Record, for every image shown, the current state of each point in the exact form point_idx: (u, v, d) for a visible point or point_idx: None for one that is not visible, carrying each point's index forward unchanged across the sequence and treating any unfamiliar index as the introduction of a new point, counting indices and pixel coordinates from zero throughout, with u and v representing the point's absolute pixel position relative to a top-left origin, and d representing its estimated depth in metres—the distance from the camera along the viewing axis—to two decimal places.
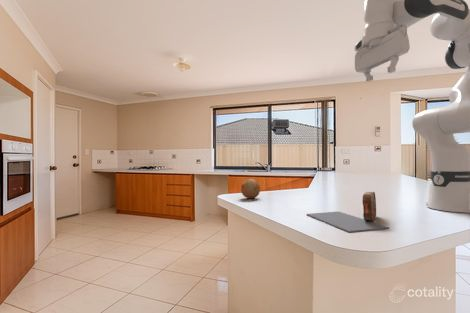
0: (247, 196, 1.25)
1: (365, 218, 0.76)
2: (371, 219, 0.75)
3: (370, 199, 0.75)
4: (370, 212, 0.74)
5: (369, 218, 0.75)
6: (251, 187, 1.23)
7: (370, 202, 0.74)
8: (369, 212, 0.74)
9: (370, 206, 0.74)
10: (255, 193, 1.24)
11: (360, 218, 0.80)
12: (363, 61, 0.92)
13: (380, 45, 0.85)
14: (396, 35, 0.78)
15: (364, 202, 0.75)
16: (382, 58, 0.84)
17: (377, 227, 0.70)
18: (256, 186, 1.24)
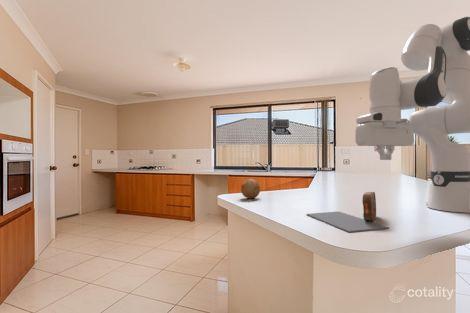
0: (247, 196, 1.25)
1: (365, 218, 0.76)
2: (371, 219, 0.75)
3: (370, 199, 0.75)
4: (370, 212, 0.74)
5: (369, 218, 0.75)
6: (251, 187, 1.23)
7: (370, 202, 0.74)
8: (369, 212, 0.74)
9: (370, 206, 0.74)
10: (255, 193, 1.24)
11: (360, 218, 0.80)
12: (376, 137, 0.79)
13: (393, 129, 0.81)
14: (411, 129, 0.83)
15: (364, 202, 0.75)
16: (397, 144, 0.81)
17: (377, 227, 0.70)
18: (256, 186, 1.24)
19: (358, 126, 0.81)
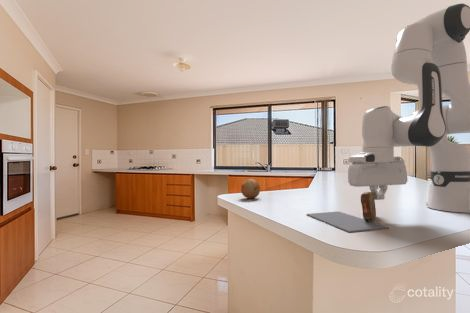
0: (247, 196, 1.25)
1: (365, 218, 0.76)
2: (371, 218, 0.75)
3: (368, 198, 0.75)
4: (369, 211, 0.74)
5: (369, 217, 0.75)
6: (251, 187, 1.23)
7: (368, 201, 0.75)
8: (368, 211, 0.74)
9: (369, 205, 0.74)
10: (255, 193, 1.24)
11: (360, 218, 0.80)
12: (368, 178, 0.78)
13: (386, 168, 0.80)
14: (404, 168, 0.82)
15: (362, 202, 0.75)
16: (390, 183, 0.80)
17: (377, 227, 0.70)
18: (256, 186, 1.24)
19: (351, 166, 0.80)
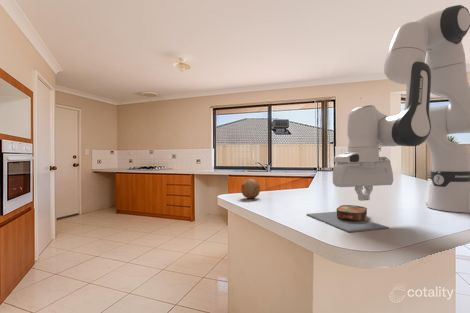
0: (247, 196, 1.25)
1: (359, 219, 0.77)
2: (360, 214, 0.77)
3: (339, 211, 0.79)
4: (351, 213, 0.77)
5: (359, 215, 0.76)
6: (251, 187, 1.23)
7: (341, 212, 0.79)
8: (351, 214, 0.77)
9: (345, 212, 0.78)
10: (255, 193, 1.24)
11: None
12: (353, 179, 0.77)
13: (371, 169, 0.79)
14: (390, 168, 0.80)
15: (341, 217, 0.78)
16: (375, 184, 0.79)
17: (377, 227, 0.70)
18: (256, 186, 1.24)
19: (335, 166, 0.79)
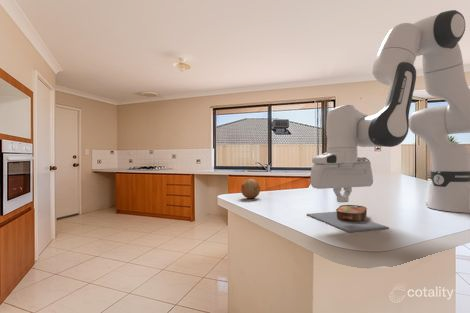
0: (247, 196, 1.25)
1: (359, 219, 0.77)
2: (360, 214, 0.77)
3: (339, 212, 0.79)
4: (351, 214, 0.77)
5: (359, 216, 0.76)
6: (251, 187, 1.23)
7: (341, 212, 0.78)
8: (350, 215, 0.77)
9: (345, 213, 0.78)
10: (255, 193, 1.24)
11: None
12: (330, 180, 0.75)
13: (350, 170, 0.77)
14: (369, 169, 0.78)
15: (341, 218, 0.78)
16: (354, 185, 0.77)
17: (377, 227, 0.70)
18: (256, 186, 1.24)
19: (313, 167, 0.77)
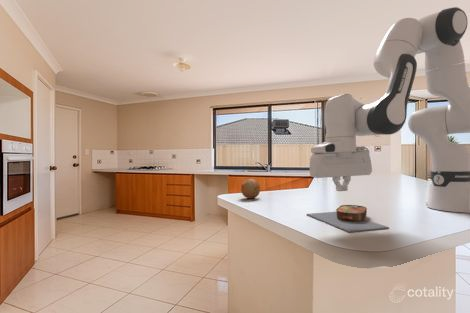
0: (247, 196, 1.25)
1: (359, 219, 0.77)
2: (360, 214, 0.77)
3: (339, 212, 0.79)
4: (351, 214, 0.77)
5: (359, 216, 0.76)
6: (251, 187, 1.23)
7: (341, 212, 0.78)
8: (350, 215, 0.77)
9: (345, 213, 0.78)
10: (255, 193, 1.24)
11: None
12: (329, 169, 0.76)
13: (349, 159, 0.77)
14: (368, 158, 0.79)
15: (341, 218, 0.78)
16: (353, 174, 0.77)
17: (377, 227, 0.70)
18: (256, 186, 1.24)
19: (312, 157, 0.78)
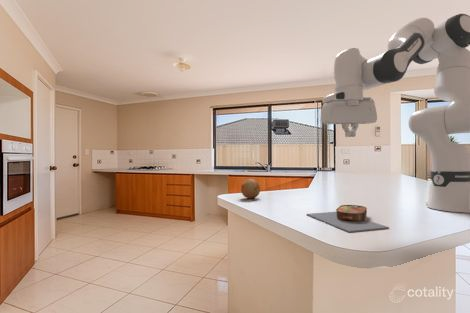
0: (247, 196, 1.25)
1: (359, 219, 0.77)
2: (360, 214, 0.77)
3: (339, 212, 0.79)
4: (351, 214, 0.77)
5: (359, 216, 0.76)
6: (251, 187, 1.23)
7: (341, 212, 0.78)
8: (350, 215, 0.77)
9: (345, 213, 0.78)
10: (255, 193, 1.24)
11: None
12: (339, 115, 0.84)
13: (357, 107, 0.86)
14: (374, 107, 0.87)
15: (341, 218, 0.78)
16: (360, 121, 0.86)
17: (377, 227, 0.70)
18: (256, 186, 1.24)
19: (323, 106, 0.86)
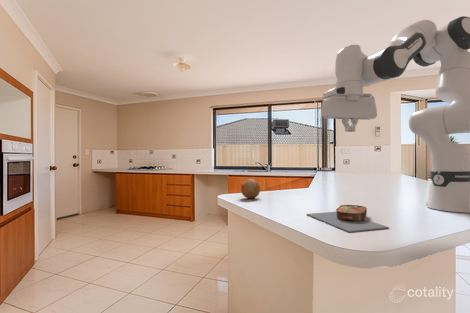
0: (247, 196, 1.25)
1: (359, 219, 0.77)
2: (360, 214, 0.77)
3: (339, 212, 0.79)
4: (351, 214, 0.77)
5: (359, 216, 0.76)
6: (251, 187, 1.23)
7: (341, 212, 0.78)
8: (350, 215, 0.77)
9: (345, 213, 0.78)
10: (255, 193, 1.24)
11: None
12: (339, 110, 0.85)
13: (357, 103, 0.87)
14: (374, 103, 0.89)
15: (341, 218, 0.78)
16: (360, 116, 0.87)
17: (377, 227, 0.70)
18: (256, 186, 1.24)
19: (324, 100, 0.87)
